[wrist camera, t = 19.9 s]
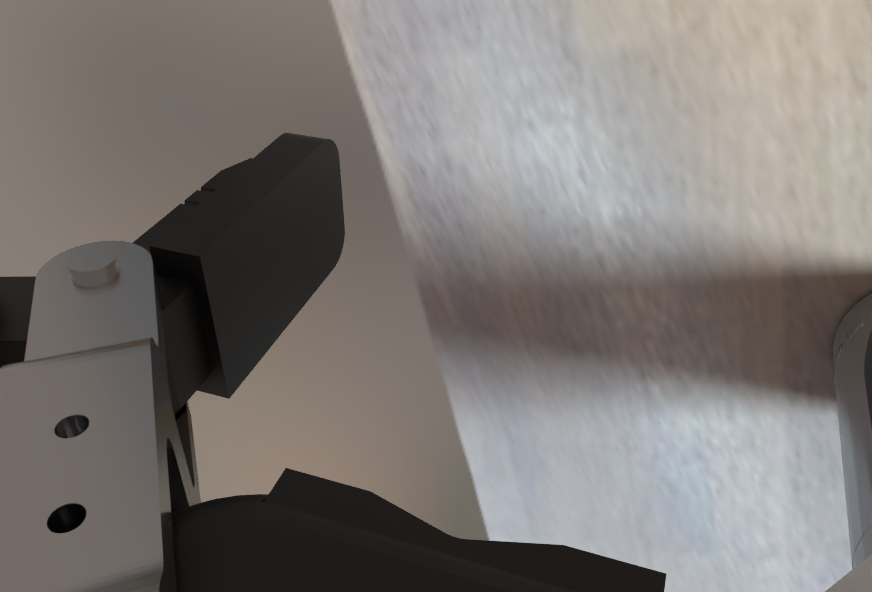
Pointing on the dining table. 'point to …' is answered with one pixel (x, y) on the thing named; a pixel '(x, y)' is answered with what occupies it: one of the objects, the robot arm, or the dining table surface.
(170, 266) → the robot arm
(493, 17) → the dining table surface
